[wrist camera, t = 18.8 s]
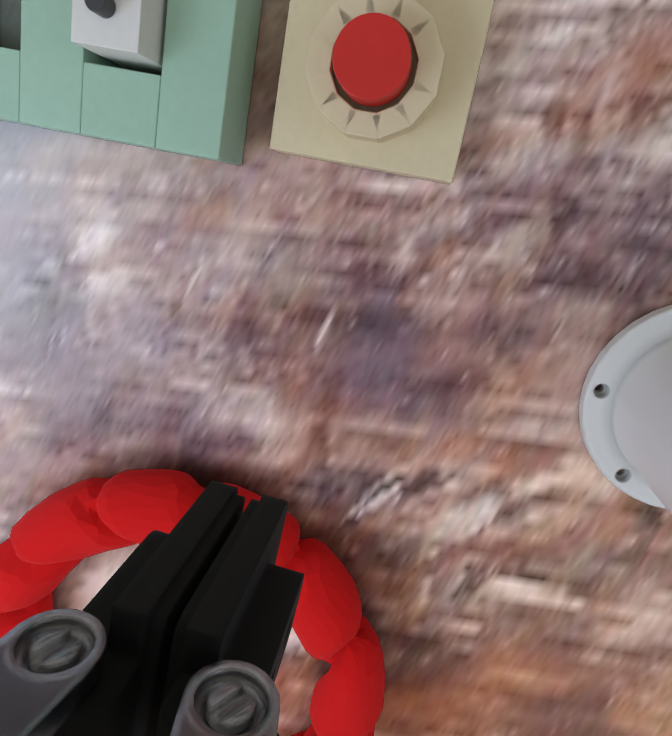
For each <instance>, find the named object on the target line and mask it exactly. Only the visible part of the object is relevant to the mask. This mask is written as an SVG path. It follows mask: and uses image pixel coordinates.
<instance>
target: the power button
mask: <svg viewBox="0 0 672 736" xmlns="http://www.w3.org/2000/svg"><path fill="white" fill-rule="evenodd" d="M332 60H333V69H334V73H335V75H336V78H337V80H338V82H339V83H340V85H341V87H342V88H343V90H344V91H345V93H346V94H347V95H348V96H349V97H350V98H351V99H352V100H354V101H355V102H357V103H359V104H361V105H364V106H370V107H375V106H381V105H384V104H387V103H389V102H391V101H392V100H394V99H395V98H396V97H397V96H399V94H400V93H401V92H402V91H403V90H404V88H405V86H406V85H407V83H408V80H409V78H410V74H411V68H412V57H411V46H410V41H409V38H408V36H407V34H406V32H405V30H404V29H403V27H402V26H401V25H400V24H399V23H398V22H397V21H396V20H395V19H393V18H392V17H390V16H388V15H385V14H382V13H375V12H374V13H366V14H362V15H359V16H357V17H356V18H354V19H352V20H351V21H350V22H348V23H347V24H346V25H345V26H344V28H343V29H342V30H341V32H340V33H339V35H338V37H337V39H336V42H335V45H334V49H333V56H332Z"/></svg>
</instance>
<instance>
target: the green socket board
mask: <svg viewBox="0 0 672 736" xmlns="http://www.w3.org/2000/svg"><path fill="white" fill-rule="evenodd" d="M261 8H262V0H168V3H167V15H166V27H165V39H164V51H163V63H162V75H161V76H160V75H156V74H151V73H145V72H139V71H134V70H128V69H123V67H122V66H120V65H118V64H116V63H114V62H112V61H110V60H108V59H106V58H104V57H102V56H100V55H98V54H96V53H94V52H92V51H90V50H88V49H85V48H83V47H81V46H79V45H77V44H75V43H73V42H71V24H72V0H21V50H16V49H10V48H5V47H0V120H2V121H8V122H13V123H18V124H23V125H29V126H34V127H39V128H44V129H50V130H55V131H60V132H65V133H71V134H76V135H81V136H86V137H92V138H97V139H102V140H107V141H113V142H118V143H123V144H128V145H134V146H139V147H144V148H149V149H155V150H160V151H165V152H170V153H176V154H181V155H186V156H191V157H197V158H202V159H207V160H212V161H218V162H223V163H228V164H233V165H238V166H241V165H242V159H243V151H244V143H245V135H246V127H247V119H248V111H249V103H250V95H251V88H252V80H253V72H254V64H255V56H256V48H257V40H258V32H259V24H260V16H261Z"/></svg>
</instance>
